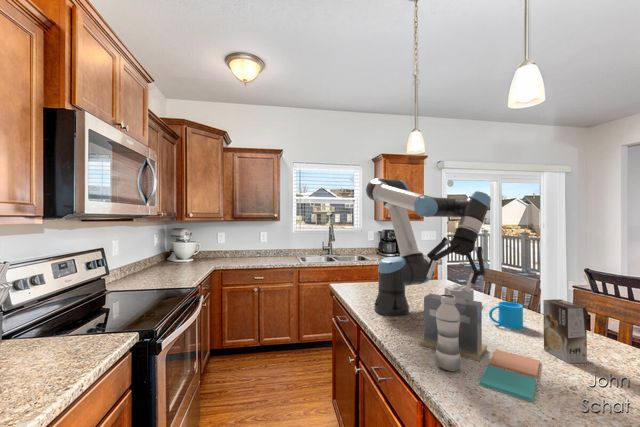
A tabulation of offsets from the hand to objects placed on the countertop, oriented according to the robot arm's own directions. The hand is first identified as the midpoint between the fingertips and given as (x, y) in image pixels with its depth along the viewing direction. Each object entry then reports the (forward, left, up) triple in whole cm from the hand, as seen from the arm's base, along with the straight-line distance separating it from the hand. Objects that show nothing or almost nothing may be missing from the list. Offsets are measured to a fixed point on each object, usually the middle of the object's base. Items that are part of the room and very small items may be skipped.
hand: (446, 284), depth 107 cm
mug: (+14, +26, -18) cm, 35 cm away
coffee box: (+32, +7, -18) cm, 38 cm away
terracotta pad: (+21, -9, -18) cm, 29 cm away
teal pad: (+21, -22, -18) cm, 36 cm away
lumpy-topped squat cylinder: (-8, +47, -18) cm, 51 cm away
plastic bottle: (+7, -24, -18) cm, 31 cm away
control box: (+4, -9, -18) cm, 21 cm away
